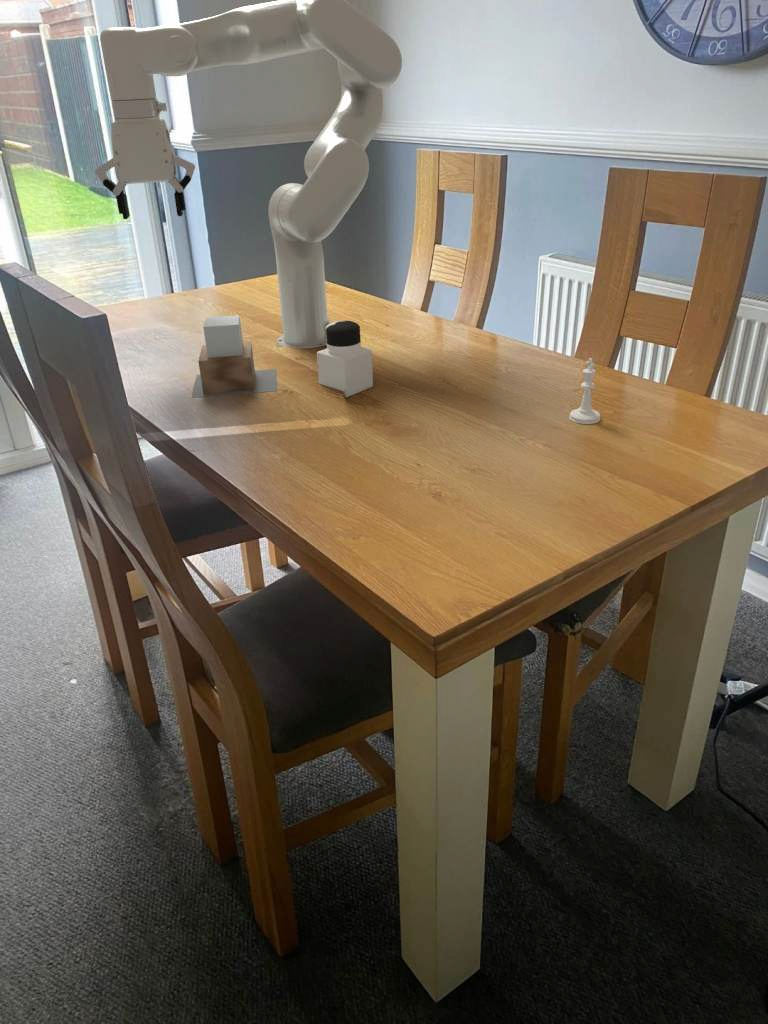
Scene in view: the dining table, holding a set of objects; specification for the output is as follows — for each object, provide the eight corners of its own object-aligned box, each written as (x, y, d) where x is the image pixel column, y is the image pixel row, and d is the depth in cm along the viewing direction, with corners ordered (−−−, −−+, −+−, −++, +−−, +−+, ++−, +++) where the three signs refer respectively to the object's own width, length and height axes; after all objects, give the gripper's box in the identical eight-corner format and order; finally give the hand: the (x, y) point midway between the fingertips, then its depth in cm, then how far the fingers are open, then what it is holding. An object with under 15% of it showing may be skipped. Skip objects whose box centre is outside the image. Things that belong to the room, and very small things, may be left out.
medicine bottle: (374, 387, 143) (371, 322, 138) (346, 398, 139) (342, 331, 133) (346, 378, 148) (342, 315, 142) (318, 389, 143) (313, 324, 137)
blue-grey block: (243, 345, 144) (239, 315, 142) (242, 355, 139) (238, 324, 136) (210, 347, 144) (205, 317, 141) (207, 357, 138) (203, 326, 136)
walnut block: (255, 373, 149) (251, 342, 146) (254, 389, 141) (250, 357, 138) (206, 376, 148) (202, 345, 145) (203, 393, 140) (198, 361, 137)
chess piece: (582, 426, 125) (588, 366, 120) (562, 416, 129) (567, 357, 124) (606, 420, 127) (613, 360, 122) (586, 410, 131) (592, 351, 126)
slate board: (276, 374, 151) (276, 368, 150) (277, 397, 140) (276, 391, 140) (197, 380, 149) (196, 374, 149) (192, 404, 139) (191, 397, 138)
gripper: (188, 108, 139) (203, 210, 148) (88, 112, 138) (108, 216, 146) (185, 110, 133) (200, 217, 141) (79, 114, 131) (101, 222, 140)
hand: (153, 216), depth 144 cm, fingers open, 9 cm apart
